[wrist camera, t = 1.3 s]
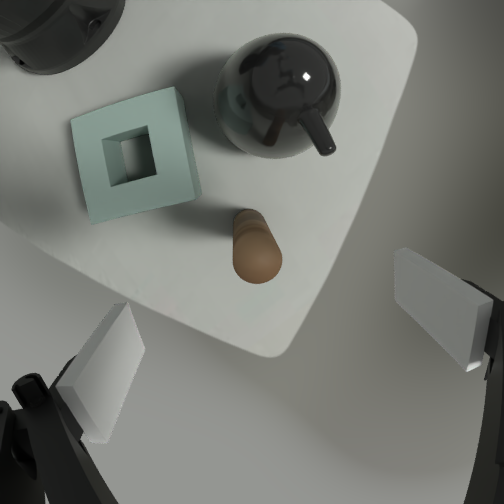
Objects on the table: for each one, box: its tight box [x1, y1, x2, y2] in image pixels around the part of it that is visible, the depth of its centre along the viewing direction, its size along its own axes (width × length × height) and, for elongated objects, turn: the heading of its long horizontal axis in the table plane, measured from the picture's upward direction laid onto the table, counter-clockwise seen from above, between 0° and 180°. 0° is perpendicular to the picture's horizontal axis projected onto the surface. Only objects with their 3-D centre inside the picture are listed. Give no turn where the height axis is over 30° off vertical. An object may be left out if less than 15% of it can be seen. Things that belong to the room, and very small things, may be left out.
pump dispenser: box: [213, 33, 341, 159], centre depth 22 cm, size 10×10×15 cm
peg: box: [233, 209, 282, 284], centre depth 27 cm, size 3×3×12 cm
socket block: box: [71, 86, 202, 225], centre depth 28 cm, size 10×10×5 cm
